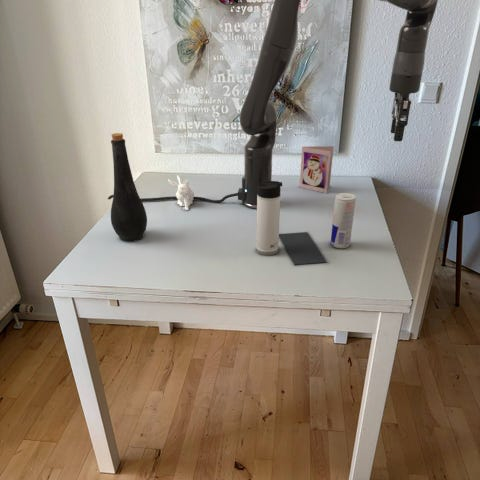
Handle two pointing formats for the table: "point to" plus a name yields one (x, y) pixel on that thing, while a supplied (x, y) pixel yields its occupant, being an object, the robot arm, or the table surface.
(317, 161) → the greeting card
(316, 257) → the mat
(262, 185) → the travel mug
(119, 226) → the bottle
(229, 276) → the table surface
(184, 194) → the rabbit figurine
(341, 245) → the beverage can
